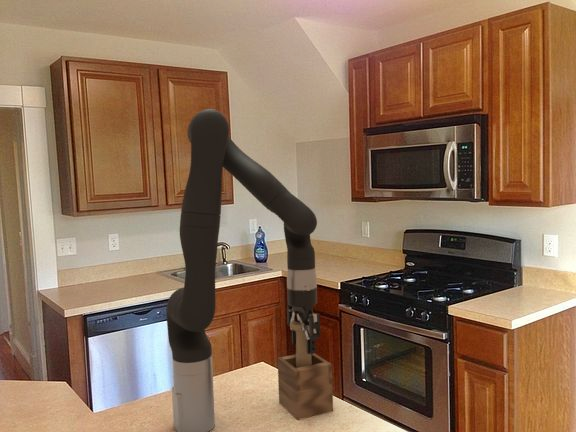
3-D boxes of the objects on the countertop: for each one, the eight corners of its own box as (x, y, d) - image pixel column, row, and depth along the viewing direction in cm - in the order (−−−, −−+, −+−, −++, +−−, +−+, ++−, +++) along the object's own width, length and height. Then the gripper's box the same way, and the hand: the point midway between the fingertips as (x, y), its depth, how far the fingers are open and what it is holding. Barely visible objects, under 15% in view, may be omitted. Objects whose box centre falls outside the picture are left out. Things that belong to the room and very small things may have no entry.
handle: (292, 376, 132) (290, 320, 131) (316, 375, 132) (314, 319, 131) (291, 383, 127) (289, 325, 126) (317, 383, 127) (315, 324, 126)
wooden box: (297, 419, 123) (295, 371, 122) (279, 402, 133) (277, 357, 132) (333, 410, 127) (331, 364, 126) (312, 394, 137) (311, 351, 136)
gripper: (277, 282, 133) (279, 343, 134) (301, 292, 120) (303, 359, 121) (302, 279, 136) (304, 338, 137) (328, 289, 123) (330, 354, 124)
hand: (303, 348), depth 129 cm, fingers open, 8 cm apart
